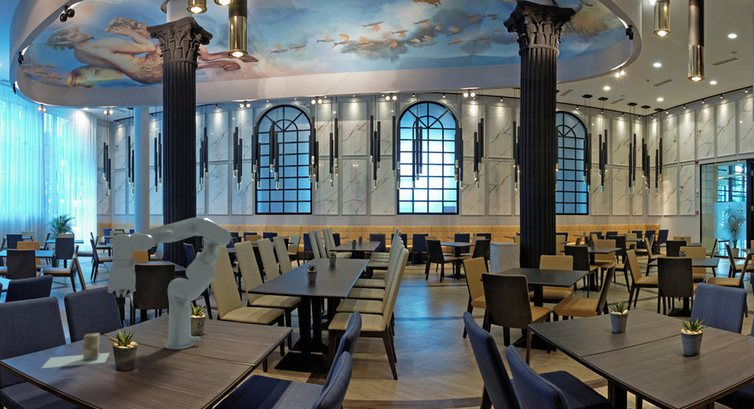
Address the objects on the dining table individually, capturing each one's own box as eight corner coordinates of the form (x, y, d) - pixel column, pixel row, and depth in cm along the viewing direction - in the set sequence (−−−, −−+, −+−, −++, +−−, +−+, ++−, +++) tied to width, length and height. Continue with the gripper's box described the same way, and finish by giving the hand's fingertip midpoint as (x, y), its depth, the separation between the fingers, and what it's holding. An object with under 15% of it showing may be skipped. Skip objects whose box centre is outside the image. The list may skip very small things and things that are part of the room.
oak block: (99, 356, 204) (99, 332, 204) (97, 359, 199) (97, 335, 199) (85, 357, 202) (86, 333, 202) (83, 361, 197) (83, 336, 197)
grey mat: (110, 354, 209) (110, 352, 209) (104, 364, 196) (104, 362, 196) (50, 359, 201) (50, 357, 201) (41, 370, 188) (41, 368, 188)
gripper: (142, 261, 211) (141, 303, 211) (104, 262, 206) (102, 305, 205) (141, 263, 204) (139, 306, 204) (101, 264, 199) (99, 308, 198)
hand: (121, 306), depth 205 cm, fingers closed
